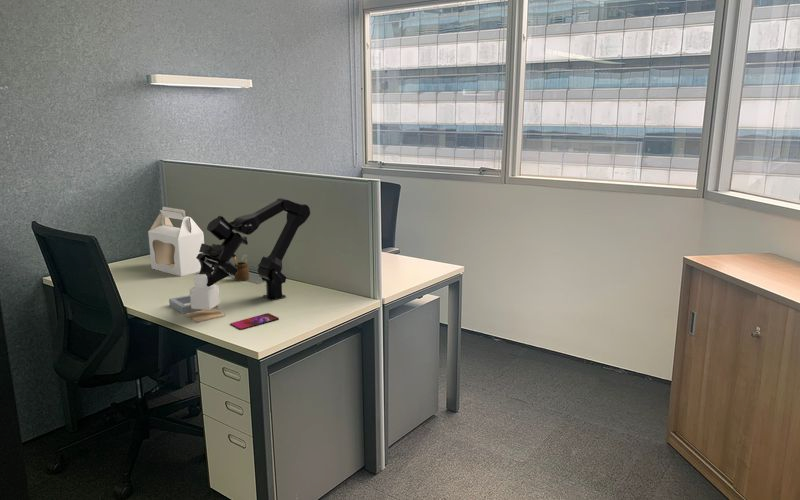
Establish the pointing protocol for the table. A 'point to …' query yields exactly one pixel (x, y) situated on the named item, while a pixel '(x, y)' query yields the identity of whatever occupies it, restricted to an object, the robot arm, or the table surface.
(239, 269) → the utensil holder
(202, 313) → the cork coaster
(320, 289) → the table surface
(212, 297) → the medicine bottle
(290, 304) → the table surface
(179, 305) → the parts tub
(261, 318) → the smartphone
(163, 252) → the gable box
